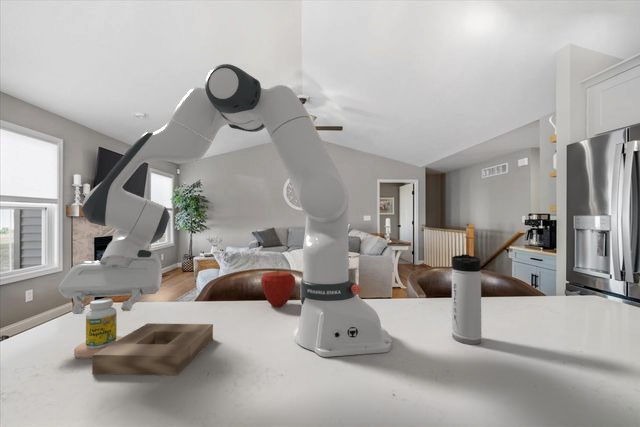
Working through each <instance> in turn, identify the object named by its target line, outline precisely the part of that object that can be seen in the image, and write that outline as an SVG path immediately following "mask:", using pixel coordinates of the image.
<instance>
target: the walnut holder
mask: <svg viewBox="0 0 640 427" xmlns="http://www.w3.org/2000/svg"><path fill="white" fill-rule="evenodd" d="M122 337H123V338H121V339H119V340H118V341H116V342H114V343H112V344H111V345H109V346H107V347H105V348H104V349H102V350H100V351H98V352H97V353H95V354H93V358H92V367H91V368H92V370H91V374H92V375H124V376H125V375H128V376H130V375H132V376H133V375H135V376H136V375H137V376H138V375H139V376H179V374H180V373H182V371H183V370H185V369H186V367H188V366H189V364H190V363H191V362H192V361H193V360H194V359H195V358H196V357H197V356H198V355H199V354H200V353H201V352H202V351H203V350H204V349H205V348H206V347H207V346H208V345H209V344H210V343H211V341H213V339H214V324H212V323H155V322H154V323H151V322H149V323H146V324H144V325H142V326H140V327H138V328H137V329H136V330H133V331H132V332H130V333H128V334H126V335H125V336H122Z"/></svg>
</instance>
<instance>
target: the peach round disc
mask: <svg viewBox="0 0 640 427" xmlns="http://www.w3.org/2000/svg"><path fill="white" fill-rule="evenodd" d="M116 336H117V337H116V341H118V340H119V339H121V338H123V337H124V336H121V335H116ZM104 348H105V347H104ZM104 348H99V349H88V348H87V347H86V341H85V342H83V343H81V344H79V345H77V346H76V347H75V348H74V350H73V356H74V358H77V359H80V360H88V359H93V354H95V353H97V352H98V351H100V350H102V349H104Z"/></svg>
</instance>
